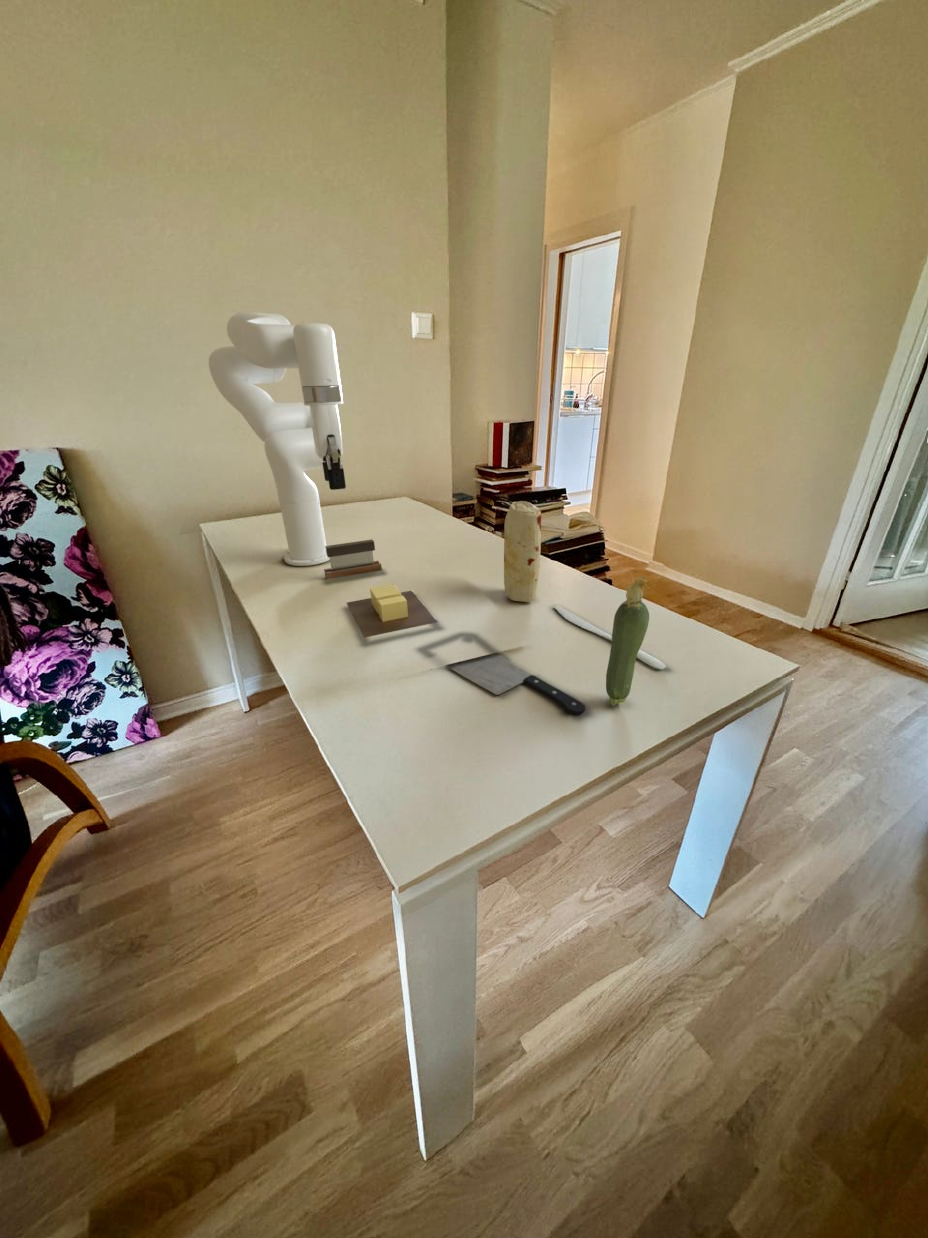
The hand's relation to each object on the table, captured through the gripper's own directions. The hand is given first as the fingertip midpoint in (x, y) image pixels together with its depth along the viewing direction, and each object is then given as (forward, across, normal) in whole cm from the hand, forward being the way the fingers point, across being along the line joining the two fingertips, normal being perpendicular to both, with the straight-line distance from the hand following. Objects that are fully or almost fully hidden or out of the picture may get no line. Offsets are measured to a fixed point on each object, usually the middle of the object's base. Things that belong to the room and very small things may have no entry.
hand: (335, 484), depth 103 cm
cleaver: (+22, +50, +17) cm, 57 cm away
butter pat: (+21, +26, +5) cm, 33 cm away
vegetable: (+23, +62, +30) cm, 72 cm away
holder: (+22, -2, +2) cm, 22 cm away
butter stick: (+21, +21, +5) cm, 30 cm away
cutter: (+22, -2, +2) cm, 22 cm away
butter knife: (+22, +44, +39) cm, 63 cm away
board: (+22, +23, +5) cm, 32 cm away
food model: (+22, +24, +33) cm, 46 cm away
